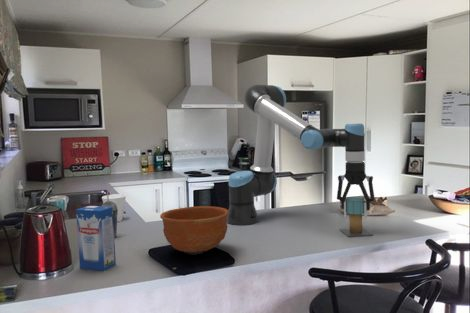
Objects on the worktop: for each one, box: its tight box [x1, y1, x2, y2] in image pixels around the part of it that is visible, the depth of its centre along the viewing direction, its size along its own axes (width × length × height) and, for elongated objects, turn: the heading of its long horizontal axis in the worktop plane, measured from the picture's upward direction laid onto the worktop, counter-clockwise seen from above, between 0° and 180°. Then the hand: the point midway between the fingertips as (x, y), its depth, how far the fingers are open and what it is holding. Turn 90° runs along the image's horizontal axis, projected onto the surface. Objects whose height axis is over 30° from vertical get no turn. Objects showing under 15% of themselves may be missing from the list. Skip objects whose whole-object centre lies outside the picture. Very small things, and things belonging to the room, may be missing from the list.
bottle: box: [339, 214, 374, 238], centre depth 164 cm, size 10×10×13 cm
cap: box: [345, 196, 366, 215], centre depth 164 cm, size 7×7×6 cm
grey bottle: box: [101, 190, 118, 239], centre depth 170 cm, size 7×7×20 cm
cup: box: [101, 193, 127, 223], centre depth 202 cm, size 12×12×12 cm
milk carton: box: [75, 205, 117, 272], centre depth 135 cm, size 10×6×20 cm, turn 69°
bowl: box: [159, 205, 229, 253], centre depth 146 cm, size 25×25×15 cm
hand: (355, 217), depth 164 cm, fingers closed on cap, 7 cm apart
